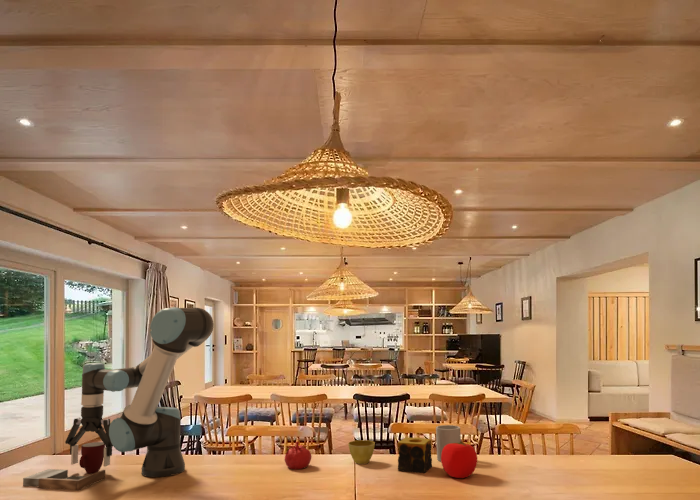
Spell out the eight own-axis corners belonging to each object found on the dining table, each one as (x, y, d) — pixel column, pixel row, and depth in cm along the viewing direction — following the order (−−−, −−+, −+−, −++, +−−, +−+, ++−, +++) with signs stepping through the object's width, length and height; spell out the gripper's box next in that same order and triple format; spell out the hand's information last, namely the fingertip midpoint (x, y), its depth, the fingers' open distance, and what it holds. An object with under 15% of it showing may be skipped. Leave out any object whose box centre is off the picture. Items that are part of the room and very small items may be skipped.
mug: (92, 477, 211) (93, 448, 212) (71, 477, 212) (72, 448, 213) (108, 469, 221) (109, 442, 223) (88, 469, 223) (89, 442, 224)
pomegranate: (316, 466, 221) (316, 440, 222) (300, 472, 212) (300, 445, 213) (295, 462, 226) (295, 437, 227) (278, 468, 218) (279, 442, 219)
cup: (434, 457, 229) (433, 425, 230) (457, 456, 230) (456, 424, 231) (440, 463, 220) (439, 430, 221) (464, 462, 221) (463, 429, 222)
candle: (397, 471, 210) (396, 442, 211) (405, 464, 220) (404, 436, 221) (425, 473, 207) (424, 444, 208) (432, 466, 216) (431, 438, 217)
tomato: (436, 479, 198) (435, 444, 200) (445, 469, 211) (444, 436, 212) (473, 483, 194) (472, 447, 195) (480, 472, 207) (479, 438, 208)
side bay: (106, 478, 210) (106, 469, 210) (78, 490, 196) (78, 480, 196) (50, 475, 215) (50, 466, 215) (19, 486, 201) (19, 477, 201)
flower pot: (375, 465, 219) (375, 445, 220) (348, 466, 219) (347, 446, 220) (374, 459, 229) (374, 439, 230) (348, 459, 229) (348, 440, 230)
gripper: (128, 404, 220) (126, 463, 218) (70, 403, 226) (68, 460, 224) (115, 408, 213) (114, 469, 211) (56, 406, 219) (54, 465, 217)
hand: (90, 464), depth 217 cm, fingers open, 13 cm apart
